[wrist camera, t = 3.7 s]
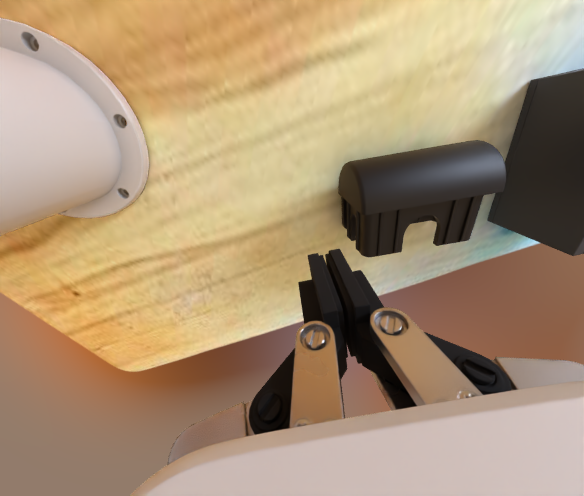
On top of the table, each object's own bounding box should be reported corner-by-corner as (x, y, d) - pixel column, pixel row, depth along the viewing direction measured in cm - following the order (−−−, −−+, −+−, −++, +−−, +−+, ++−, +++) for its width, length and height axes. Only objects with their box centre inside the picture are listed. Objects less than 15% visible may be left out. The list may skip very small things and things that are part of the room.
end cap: (444, 138, 18) (524, 141, 13) (429, 212, 22) (486, 242, 16) (334, 157, 18) (363, 169, 13) (337, 228, 22) (361, 263, 16)
